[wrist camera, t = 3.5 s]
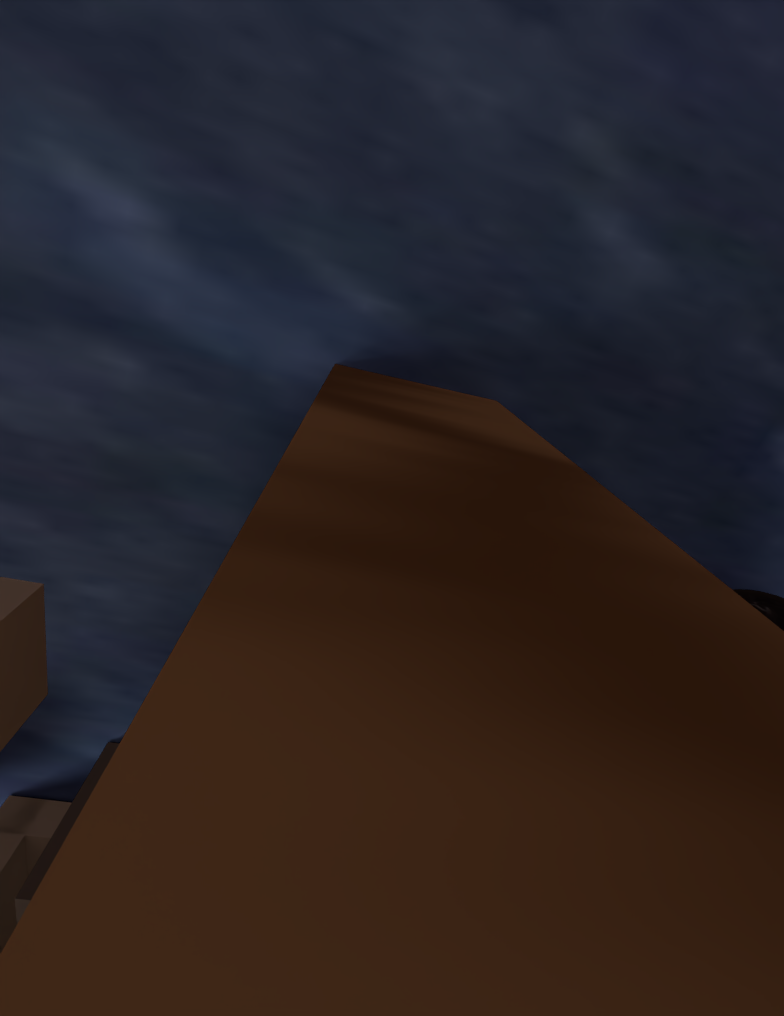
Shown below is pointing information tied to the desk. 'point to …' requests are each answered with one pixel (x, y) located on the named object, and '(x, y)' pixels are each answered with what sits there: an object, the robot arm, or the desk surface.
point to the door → (433, 755)
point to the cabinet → (35, 843)
